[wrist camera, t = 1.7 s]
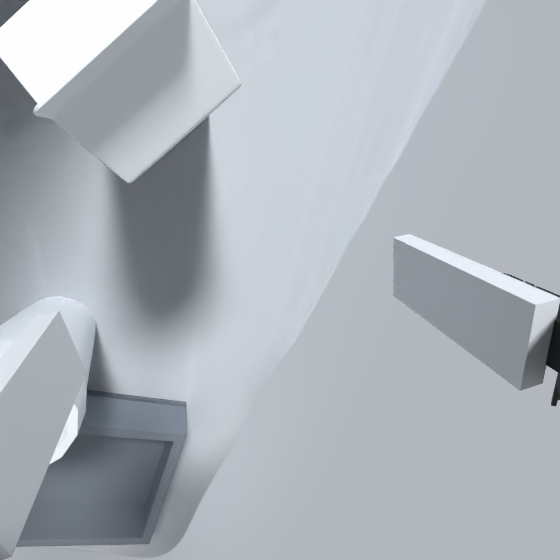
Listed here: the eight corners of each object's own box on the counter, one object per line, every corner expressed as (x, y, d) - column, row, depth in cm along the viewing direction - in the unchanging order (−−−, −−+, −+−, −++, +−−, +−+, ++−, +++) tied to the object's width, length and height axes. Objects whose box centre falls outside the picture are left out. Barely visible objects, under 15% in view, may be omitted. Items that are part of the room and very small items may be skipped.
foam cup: (-20, 298, 31) (-140, 393, 20) (86, 267, 33) (32, 339, 21) (35, 380, 35) (-38, 499, 24) (128, 349, 37) (102, 448, 25)
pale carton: (209, 114, 31) (264, 72, 11) (157, 160, 31) (119, 201, 11) (157, 47, 28) (103, -171, 8) (101, 98, 28) (-82, 6, 8)
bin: (4, 500, 39) (-19, 547, 35) (25, 383, 35) (2, 418, 31) (152, 503, 45) (149, 544, 40) (185, 402, 41) (186, 434, 36)
